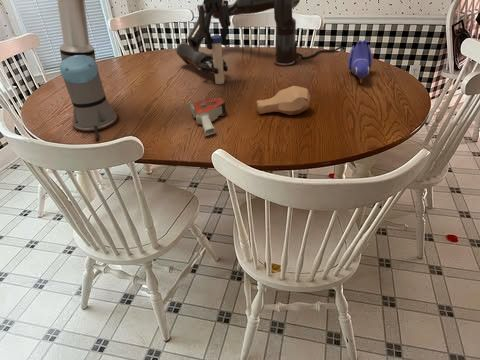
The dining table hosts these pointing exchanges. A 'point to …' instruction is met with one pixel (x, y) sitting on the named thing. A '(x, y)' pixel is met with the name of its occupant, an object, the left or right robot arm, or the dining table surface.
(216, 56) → the cream plastic cylinder
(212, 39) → the lid
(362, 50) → the toy
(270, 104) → the squash
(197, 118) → the tape dispenser
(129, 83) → the dining table surface
